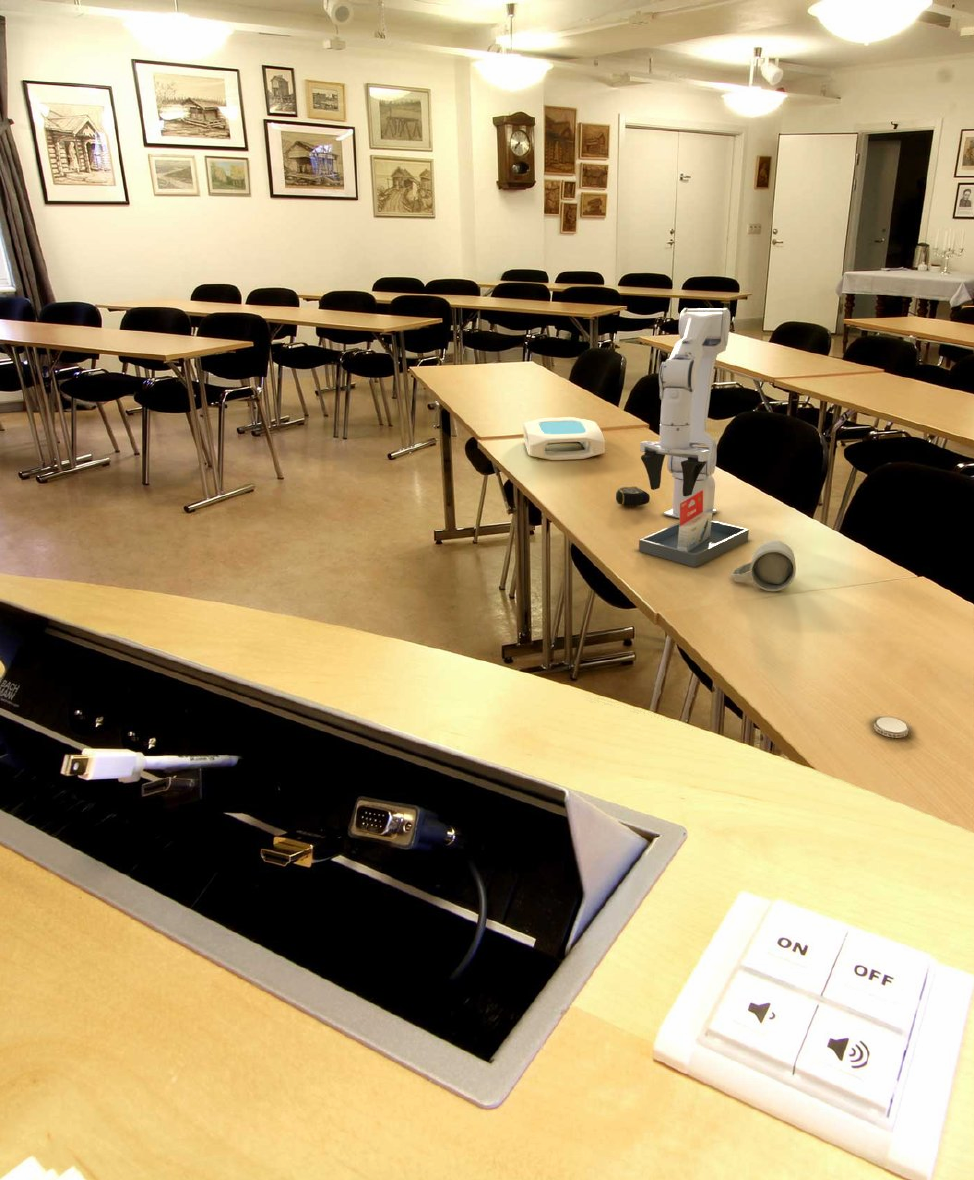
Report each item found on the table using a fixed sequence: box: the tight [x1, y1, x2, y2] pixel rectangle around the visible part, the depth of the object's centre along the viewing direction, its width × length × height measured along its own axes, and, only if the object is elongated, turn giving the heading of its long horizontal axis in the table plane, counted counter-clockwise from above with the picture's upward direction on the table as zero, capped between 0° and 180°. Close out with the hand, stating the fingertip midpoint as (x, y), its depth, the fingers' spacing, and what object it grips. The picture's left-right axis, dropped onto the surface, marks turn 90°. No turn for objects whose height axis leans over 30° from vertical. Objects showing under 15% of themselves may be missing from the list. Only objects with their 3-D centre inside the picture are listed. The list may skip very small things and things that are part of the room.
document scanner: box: [522, 416, 606, 461], centre depth 246 cm, size 21×28×6 cm
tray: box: [638, 520, 750, 568], centre depth 170 cm, size 19×13×2 cm
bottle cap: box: [873, 716, 910, 739], centre depth 107 cm, size 4×4×1 cm
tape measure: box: [615, 486, 651, 508], centre depth 195 cm, size 7×7×4 cm
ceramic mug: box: [731, 540, 797, 592], centre depth 150 cm, size 11×8×8 cm
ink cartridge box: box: [677, 490, 713, 552], centre depth 168 cm, size 2×11×10 cm, turn 143°
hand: (671, 492), depth 166 cm, fingers open, 7 cm apart
